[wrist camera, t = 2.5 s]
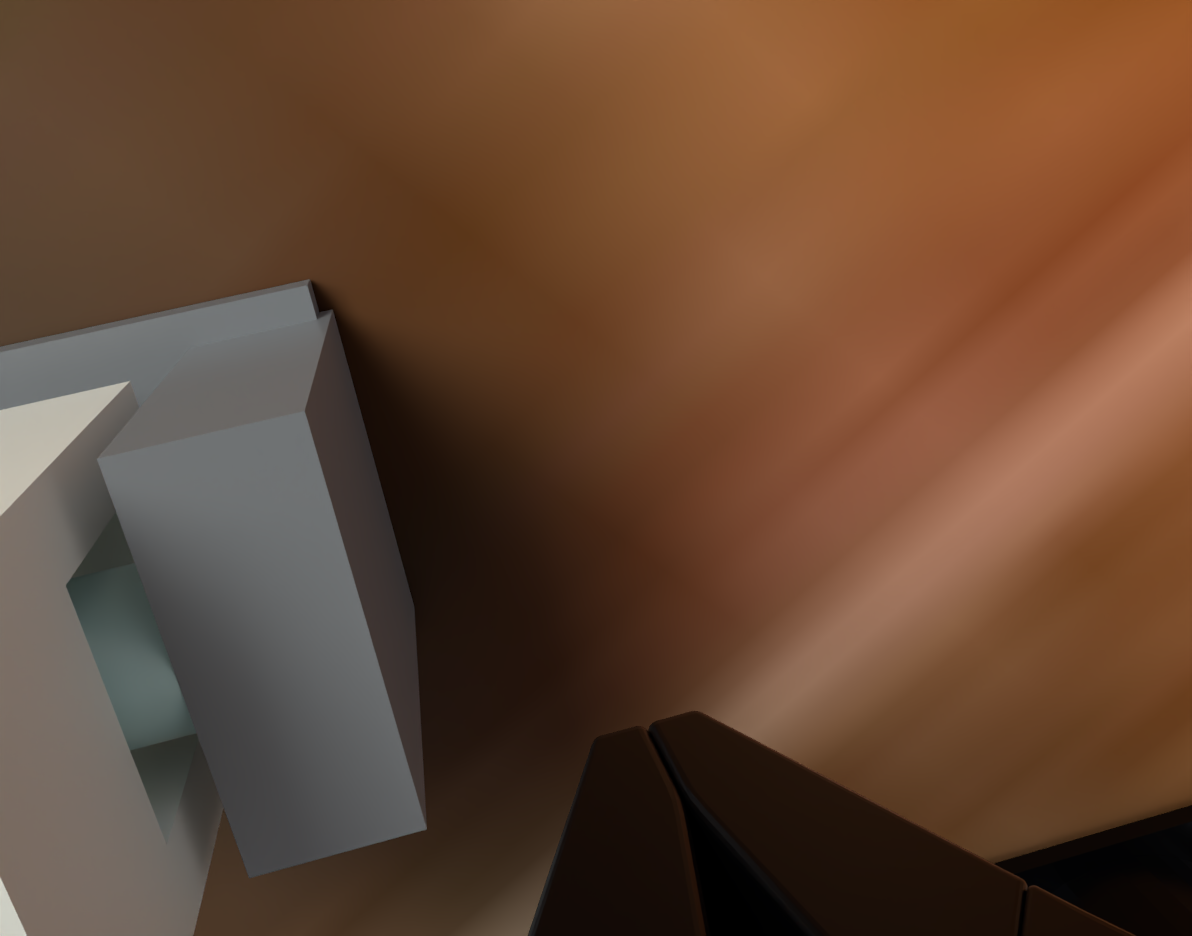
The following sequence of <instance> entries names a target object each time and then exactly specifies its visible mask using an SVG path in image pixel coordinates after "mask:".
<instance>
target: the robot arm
mask: <svg viewBox="0 0 1192 936" xmlns="http://www.w3.org/2000/svg"><path fill="white" fill-rule="evenodd" d="M528 936H1192V805H1191V806H1188V807H1184V808H1181V809H1178V810H1174V811H1171V812H1167V813H1164V814H1161V815H1157V816H1154V817H1150V818H1147V819H1144V820H1140V821H1137V822H1133V823H1130V824H1127V825H1123V826H1120V827H1116V828H1113V829H1110V830H1106V831H1103V832H1100V833H1096V834H1093V835H1089V836H1086V837H1083V838H1079V839H1076V840H1072V841H1069V842H1066V843H1062V844H1059V845H1055V846H1052V847H1049V848H1045V849H1042V850H1038V851H1035V852H1032V853H1028V854H1025V855H1022V856H1018V857H1015V858H1011V859H1008V860H1005V861H1001V862H998V863H994V864H993V863H991V862H989V861H987V860H985V859H983V858H981V857H979V856H977V855H975V854H973V853H972V852H970V851H968V850H966V849H964V848H962V847H960V846H958V845H956V844H954V843H952V842H950V841H948V840H946V839H945V838H943V837H941V836H939V835H937V834H935V833H933V832H931V831H929V830H927V829H925V828H923V827H921V826H919V825H918V824H916V823H914V822H912V821H910V820H908V819H906V818H904V817H902V816H900V815H898V814H896V813H894V812H893V811H891V810H889V809H887V808H885V807H883V806H881V805H879V804H877V803H875V802H873V801H871V800H869V799H867V798H866V797H864V796H862V795H860V794H858V793H856V792H854V791H852V790H850V789H848V788H846V787H844V786H842V785H840V784H839V783H837V782H835V781H833V780H831V779H829V778H827V777H825V776H823V775H821V774H819V773H817V772H815V771H813V770H812V769H810V768H808V767H806V766H804V765H802V764H800V763H798V762H796V761H794V760H792V759H790V758H788V757H786V756H785V755H783V754H781V753H779V752H777V751H775V750H773V749H771V748H769V747H767V746H765V745H763V744H761V743H760V742H758V741H756V740H754V739H752V738H750V737H748V736H746V735H744V734H742V733H740V732H738V731H736V730H734V729H733V728H731V727H729V726H727V725H725V724H723V723H721V722H719V721H717V720H715V719H713V718H711V717H709V716H707V715H706V714H704V713H701V712H698V711H691V712H687V713H684V714H680V715H676V716H673V717H669V718H665V719H662V720H658V721H655V722H653V723H652V724H651V725H650V726H649V730H648V731H647V730H646V729H645V728H644V727H641V726H636V727H632V728H628V729H625V730H621V731H617V732H613V733H610V734H606V735H602V736H599V737H597V738H596V739H595V740H594V742H593V744H592V746H591V749H590V752H589V755H588V758H587V761H586V764H585V767H584V770H583V773H582V776H581V779H580V782H579V785H578V788H577V791H576V794H575V797H574V800H573V803H572V806H571V809H570V812H569V815H568V818H567V821H566V824H565V827H564V830H563V833H562V835H561V838H560V841H559V844H558V847H557V850H556V853H555V856H554V859H553V862H552V865H551V868H550V871H549V874H548V877H547V880H546V883H545V886H544V889H543V892H542V895H541V898H540V901H539V904H538V907H537V910H536V913H535V916H534V919H533V922H532V925H531V928H530V931H529V934H528Z"/></svg>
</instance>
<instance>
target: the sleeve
mask: <svg viewBox="0 0 1192 936" xmlns="http://www.w3.org/2000/svg"><path fill="white" fill-rule="evenodd" d="M138 409H139V405H138V402H137V400H136V397H135V394H134V391H133V388H132V385H131V382H130V381H128V382H124V383H119V384H115V385H110V386H106V387H101V388H97V389H92V390H88V391H83V392H79V393H75V394H70V395H66V396H61V397H57V398H52V399H48V400H43V401H39V402H34V403H30V404H25V405H21V406H17V407H12V408H8V409H3V410H0V936H193V935H194V931H195V926H196V922H197V918H198V914H199V909H200V905H201V901H202V897H203V892H204V888H205V884H206V880H207V875H208V871H209V867H210V863H211V858H212V854H213V850H214V846H215V841H216V837H217V833H218V829H219V824H220V820H221V816H222V812H223V805H222V802H221V799H220V796H219V794H218V791H217V788H216V785H215V783H214V780H213V777H212V774H211V772H210V769H209V766H208V763H207V761H206V758H205V755H204V752H203V750H202V747H201V744H200V741H199V739H198V736H197V733H196V734H192V735H188V736H184V737H181V738H177V739H173V740H169V741H165V742H161V743H157V744H154V745H150V746H146V747H142V748H138V749H134V750H131V751H130V749H129V747H128V744H127V742H126V739H125V737H124V734H123V731H122V729H121V726H120V724H119V721H118V719H117V716H116V714H115V711H114V708H113V706H112V703H111V701H110V698H109V696H108V693H107V690H106V688H105V685H104V683H103V680H102V678H101V675H100V672H99V670H98V667H97V665H96V662H95V660H94V657H93V654H92V652H91V649H90V647H89V644H88V642H87V639H86V636H85V634H84V631H83V629H82V626H81V624H80V621H79V619H78V616H77V613H76V611H75V608H74V606H73V603H72V601H71V598H70V595H69V593H68V590H67V588H66V584H67V583H68V581H69V580H70V578H74V577H78V576H83V575H87V574H91V573H95V572H99V571H103V570H107V569H112V568H116V567H120V566H124V565H128V564H132V563H134V560H133V557H132V554H131V552H130V549H129V546H128V543H127V541H126V538H125V535H124V532H123V530H122V527H121V524H120V521H119V519H118V516H117V513H116V510H115V508H114V505H113V502H112V499H111V497H110V494H109V491H108V488H107V486H106V483H105V480H104V477H103V475H102V472H101V469H100V466H99V464H98V461H97V458H98V457H99V456H100V454H101V453H102V452H103V451H104V450H105V449H106V447H107V446H108V445H109V444H110V443H111V441H112V440H113V439H114V438H115V437H116V435H117V434H118V433H119V432H120V431H121V430H122V428H123V427H124V426H125V425H126V424H127V422H128V421H129V420H130V419H131V418H132V416H133V415H134V414H135V413H136V412H137V410H138Z"/></svg>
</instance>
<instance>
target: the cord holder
mask: <svg viewBox="0 0 1192 936" xmlns="http://www.w3.org/2000/svg"><path fill="white" fill-rule="evenodd" d="M128 381H130V382H131V385H132V388H133V391H134V394H135V397H136V400H137V402H138V405H139V409H138V410H137V412H136V413H135V414H134V415H133V416H132V418H131V419H130V420H129V421H128V422H127V424H126V425H125V426H124V427H123V428H122V430H121V431H120V432H119V433H118V434H117V435H116V437H115V438H114V439H113V440H112V441H111V443H110V444H109V445H108V446H107V447H106V449H105V450H104V451H103V452H102V453H101V454H100V456H99V457H98V458H97V461H98V464H99V466H100V469H101V472H102V475H103V477H104V480H105V483H106V486H107V488H108V491H109V494H110V497H111V499H112V502H113V505H114V508H115V510H116V513H117V516H118V519H119V521H120V524H121V527H122V530H123V532H124V535H125V538H126V541H127V543H128V546H129V549H130V552H131V554H132V557H133V560H134V563H132V564H128V565H124V566H120V567H116V568H112V569H107V570H103V571H99V572H95V573H91V574H87V575H83V576H78V577H74V578H70V580H69V581H68V583H67V584H66V588H67V590H68V593H69V595H70V598H71V601H72V603H73V606H74V608H75V611H76V613H77V616H78V619H79V621H80V624H81V626H82V629H83V631H84V634H85V636H86V639H87V642H88V644H89V647H90V649H91V652H92V654H93V657H94V660H95V662H96V665H97V667H98V670H99V672H100V675H101V678H102V680H103V683H104V685H105V688H106V690H107V693H108V696H109V698H110V701H111V703H112V706H113V708H114V711H115V714H116V716H117V719H118V721H119V724H120V726H121V729H122V731H123V734H124V737H125V739H126V742H127V744H128V747H129V749H130V751H131V750H134V749H138V748H142V747H146V746H150V745H154V744H157V743H161V742H165V741H169V740H173V739H177V738H181V737H184V736H188V735H192V734H196V733H197V736H198V739H199V741H200V744H201V747H202V750H203V752H204V755H205V758H206V761H207V763H208V766H209V769H210V772H211V774H212V777H213V780H214V783H215V785H216V788H217V791H218V794H219V796H220V799H221V802H222V805H223V807H224V810H225V813H226V816H227V818H228V821H229V824H230V827H231V829H232V832H233V835H234V838H235V840H236V843H237V846H238V849H239V851H240V854H241V857H242V860H243V862H244V865H245V868H246V871H247V873H248V876H249V878H252V877H255V876H259V875H263V874H266V873H270V872H274V871H277V870H281V869H284V868H288V867H292V866H295V865H299V864H303V863H306V862H310V861H314V860H317V859H321V858H324V857H328V856H332V855H335V854H339V853H343V852H346V851H350V850H354V849H357V848H361V847H364V846H368V845H372V844H375V843H379V842H383V841H386V840H390V839H394V838H397V837H401V836H404V835H408V834H412V833H415V832H419V831H423V830H426V829H427V821H426V804H425V786H424V768H423V751H422V733H421V715H420V697H419V680H418V662H417V644H416V627H415V609H414V604H413V600H412V596H411V593H410V589H409V586H408V582H407V578H406V575H405V571H404V567H403V564H402V560H401V556H400V553H399V549H398V545H397V542H396V538H395V535H394V531H393V527H392V524H391V520H390V516H389V513H388V509H387V505H386V502H385V498H384V494H383V491H382V487H381V484H380V480H379V476H378V473H377V469H376V465H375V462H374V458H373V454H372V451H371V447H370V443H369V440H368V436H367V433H366V429H365V425H364V422H363V418H362V414H361V411H360V407H359V403H358V400H357V396H356V392H355V389H354V385H353V382H352V378H351V374H350V371H349V367H348V363H347V360H346V356H345V352H344V349H343V345H342V341H341V338H340V334H339V331H338V327H337V323H336V320H335V316H334V312H333V309H332V310H328V311H323V312H319V309H318V306H317V302H316V299H315V295H314V292H313V288H312V284H311V281H310V279H309V280H304V281H300V282H295V283H290V284H286V285H281V286H277V287H272V288H268V289H263V290H258V291H254V292H249V293H245V294H240V295H235V296H231V297H226V298H222V299H217V300H213V301H208V302H203V303H199V304H194V305H190V306H185V307H180V308H176V309H171V310H167V311H162V312H158V313H153V314H148V315H144V316H139V317H135V318H130V319H125V320H121V321H116V322H112V323H107V324H103V325H98V326H93V327H89V328H84V329H80V330H75V331H70V332H66V333H61V334H57V335H52V336H48V337H43V338H38V339H34V340H29V341H25V342H20V343H15V344H11V345H6V346H2V347H0V410H3V409H8V408H12V407H17V406H21V405H25V404H30V403H34V402H39V401H43V400H48V399H52V398H57V397H61V396H66V395H70V394H75V393H79V392H83V391H88V390H92V389H97V388H101V387H106V386H110V385H115V384H119V383H124V382H128Z"/></svg>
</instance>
